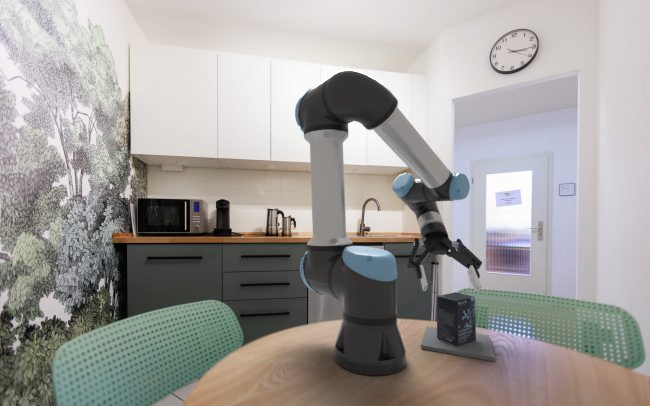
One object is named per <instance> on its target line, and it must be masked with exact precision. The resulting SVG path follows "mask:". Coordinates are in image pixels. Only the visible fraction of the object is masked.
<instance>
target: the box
mask: <svg viewBox="0 0 650 406" xmlns="http://www.w3.org/2000/svg"><path fill="white" fill-rule="evenodd" d="M476 318H477V317H476V296H473V295H469V294H464V293H460V292H451V293H445V294H441V295H440V294H439V295H437V296H436V320H437V321H436V328H437V339H439V340H442V341H444V342H447V343H449V344H452V345H454V346H459V345H461V344H464V343H467V342H470V341H474V340H476V334H477V326H476V325H477V324H476Z"/></svg>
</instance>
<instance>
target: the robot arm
mask: <svg viewBox="0 0 650 406" xmlns="http://www.w3.org/2000/svg"><path fill="white" fill-rule="evenodd" d="M398 105H399V100H398V99H397V97H396V96H395V95H394V94H393V93H392V92H391V90H390V89H389V88H388V87H386V86H385V85H384V83H382V82H380V81H379V80H377V79H376V78H374V77H372V76H371V75H368V74H367V73H364V72H361V71H359V70H354V69H345V70H339V71H337V72H335V73H333V74H332V75H331V76H329V77H328V78H327V79H325V80H323V81H322V82H320V83H318V84H317V85H316V86H313V87H311V88H309V89H308V90H306V91H305V92H304V93H303V94H302V95H301V96H300V97H299V98H298V100H297V102H296V105H295V108H294V116H295V122H296V124H297V126H298V127H299V128H300V130H301V131H302V133H303V139H304V140H305V141H306V142H307V143H308V144H309V152H310V153H309V159H310V160H309V161H310V162H309V163H310V188H311V189H310V190H311V215H312V216H311V219H312V220H311V221H312V237H311V238H310V239H309V241H307V243H306V245H307V246H306V247H307V248H306V249H307V250H306V251H305V253H304V255H303V257H301V260H300V263H299V273H300V277H301V280H302V282H303V283H304V285H305V286H306V287H307V288H308V289H309V290H311V291H313V292H315V293H316V294H318V295H320V296H326V297H330V298H331V299H336V300H339V301H341V302H342V321H341V324H340V328H339V329H338V330H339V331H338V334H337V336H336V337H337V338H336V340H335V343H334V348H333V349H334V350H333V351H334V352H333V353H334V354H333V357H334V361H335V363H337V364H338V366H340V367H342V368H343V369H344V370H347V371H350V372H352V373H355V374H360V375H366V376H367V375H368V376H385V375H392V374H395V373H398V372H399V371H401V370H403V368H405V366H406V364H407V363H406V362H407V351H406V347H405V345H404V340H403V338H402V335H401V332H400V328H399V325H398V267H397V260H396V257H395V255H394V254H393V253H392V252H390V251H389V250H386V249H382V248H377V247H372V246H371V247H370V246H365V245H364V246H363V245H362V246H361V245H353V241H352V240H351V239H350V238H349V236H348V235H347V223H346V222H347V221H346V219H347V217H346V194H345V192H346V191H345V169H344V168H345V167H344V165H345V164H344V163H345V162H344V142H345V141H346V140H347V139H348V138H349V124H350V123H353V122H357V123H360V124H361V125H362V126H363V127H364V129H366V131H367V130H368V131H374V133H376V134H377V136H378V137H379V138H380V139H381V140H382V141H383V142H384V143H385V144H386V145H387V146H388V147H389V148H390V149H391V150H392V151H393V153H394V154H395V155H396V156H397V157H398V158H399V159H400V160H401V161H402V162H403V163H404V164H405V166H407V167H408V168H409V170H410V171H411V172H412V173H413V174H414V175H415V176H416V177H417V178H415V176H413V175H412V174H411V173H407V172H404V173H402V174H399V175H398V176H397V177H396V178H395V179H394V181H393V182H392V187H391V188H392V191H393V192H394V194H396V196H397V198H399V199H400V200H401V201H402V203H404V204H405V205H406V206H407V207H408V208H409V209H410V211H412V212H413V213H414V215H415V217H416V221H417V224H418V227H419V232H420V236H421V240H419V238H417V237H415V238H414V241H413V247H412V251H411V253H410V256H409V258H408V261H407V264H406V267H407V269H411V268H412V271H414V273H415V277H416V279H417V280H420V284H421V288H422V291H423V292H426V291H427V290H428V286H429V283H428V280H427V276H426V272H425V269H424V268H425V267H424V265H423V263H425V261H426V260H427V259H428V258H429V257H430V255H431V254H432V255H434V256H438V255H441V256H447V257H449V258H452V259H453V260H455V261H456V262H458V263H459V264H460V265H462V266H464V267H465V268H466V269H467V275H468V277H469V280H470V282H471V285H472V287H473V289H474V292H475V293H479V291H480V290H481V289H482V283H481V281H480V280H479V279H480V278H481V275H480V272H479V270H480V268H481V266H482V264H483V262H482V260H481V259H479V258H478V257H477V256H476V255H475V254H474V253H473V252H472V251H471V250H470V249H469V248H468V247H467V246H465V244H464V243H463V242H462V240H461V238H457V239H456V240H451V239H450V237H449V234H448V231H447V229H446V225H445V223H444V221H443V218H442V215H441V213H440V210H439V209H440V208H439V206H438V205H437V202H454V201H461V200H465V199H466V198H467V197H468V196H469V193H470V189H471V188H470V187H471V186H470V180H469V178H468V176H467V175H466V174H465V173H462V172H454V173H453V172H452V171H451V170H450V169H449V168H448V167H447V166H446V165H445V163H444V162H443V161H442V160H441V158H439V156H438V154H437V153H436V152H435V151H434V150H433V149H432V148H431V146H430V145H429V144H428V143H427V141H426V140H425V139H424V138H423V137H422V135H421V134H420V133H419V132H418V131H417V129H416V128H415V127H414V125H413V124H412V123H411V122H410V120H408V118H407V117H406V116H405V114H404V113H403V112H402V111H401V110H400V109H399V106H398ZM422 247H423V248H424V249H425V250H424V251H423V252H422V254H421V255H420V256H419V257H418V258H417V259H416V255H417V253H418V250H419V249H420V248H422ZM415 259H416V261H415Z"/></svg>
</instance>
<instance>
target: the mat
mask: <svg viewBox="0 0 650 406" xmlns="http://www.w3.org/2000/svg"><path fill="white" fill-rule="evenodd" d="M420 347H421V348H420V349H421V350H426V351H432V352H439V353H445V354H449V355H454V356H455V355H456V356H462V357H468V358H472V359H473V358H474V359H479V360H484V361H489V362H490V361H491V362H496V356H495V353H494V352H495V351H494V349H493V344H492V342H491V339H490V335H488V334H484V333H483V334H482V333H476V340H474V341H470V342H467V343H464V344H461V345H459V346H454V345H452V344H449V343H447V342H444V341H442V340H439V339H437V327H433V326H426V328H425V331H424V335H423V338H422V341H421V344H420Z"/></svg>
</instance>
